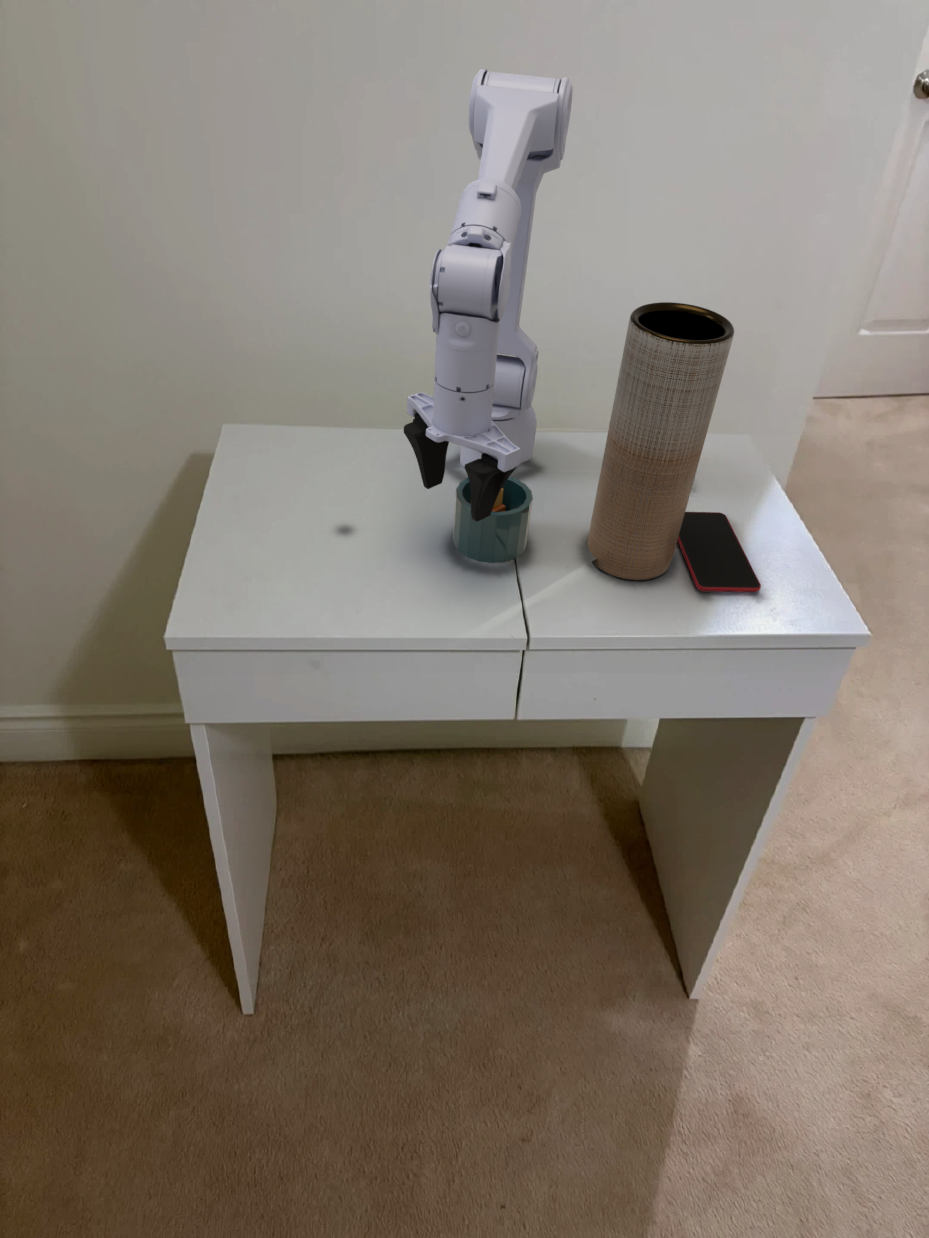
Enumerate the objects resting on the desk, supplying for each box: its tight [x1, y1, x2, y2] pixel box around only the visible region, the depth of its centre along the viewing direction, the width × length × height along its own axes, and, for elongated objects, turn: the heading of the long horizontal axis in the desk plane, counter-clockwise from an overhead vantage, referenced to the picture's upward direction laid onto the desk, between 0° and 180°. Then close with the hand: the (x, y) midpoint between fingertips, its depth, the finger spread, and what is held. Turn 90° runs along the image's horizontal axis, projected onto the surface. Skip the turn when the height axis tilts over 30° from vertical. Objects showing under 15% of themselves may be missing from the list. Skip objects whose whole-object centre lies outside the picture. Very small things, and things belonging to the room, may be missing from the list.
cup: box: [452, 476, 534, 564], centre depth 96 cm, size 8×8×8 cm
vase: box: [586, 301, 735, 581], centre depth 90 cm, size 10×10×28 cm
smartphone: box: [677, 511, 762, 593], centre depth 99 cm, size 7×1×15 cm
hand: (456, 500), depth 89 cm, fingers open, 7 cm apart
